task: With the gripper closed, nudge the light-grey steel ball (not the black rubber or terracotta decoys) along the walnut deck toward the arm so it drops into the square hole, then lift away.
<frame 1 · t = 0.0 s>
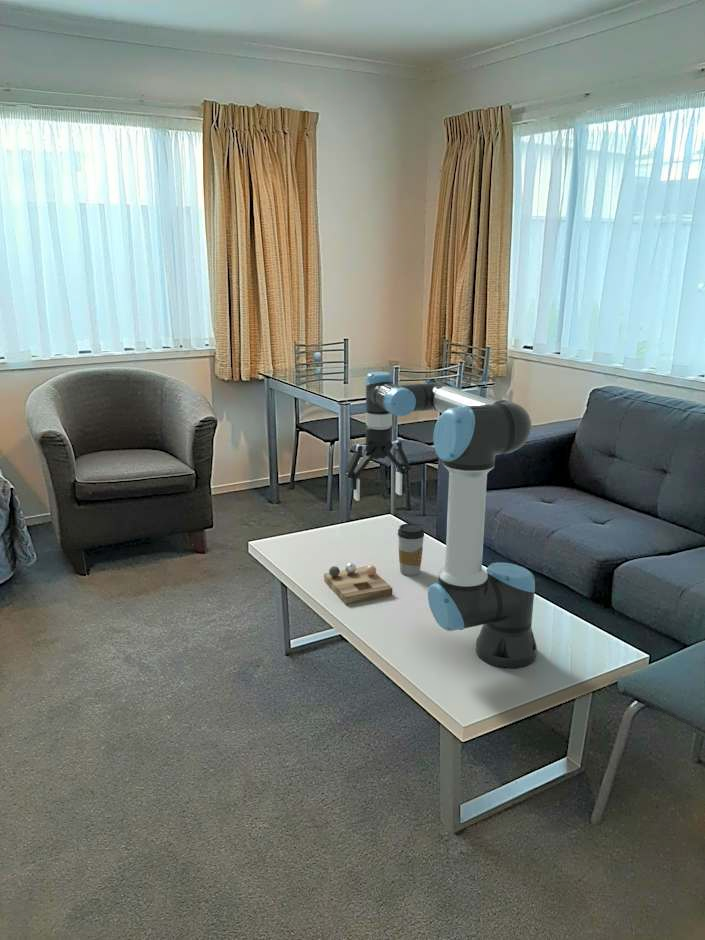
hand: (377, 496, 220), 28 cm above the table, fingers open, 13 cm apart
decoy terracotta: (371, 570, 227), point 4 cm above the table, touching deck
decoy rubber: (334, 571, 226), point 4 cm above the table, touching deck
deck: (357, 588, 224), on the table
steel ball: (350, 568, 228), point 4 cm above the table, touching deck
coffee cup: (409, 572, 236), on the table
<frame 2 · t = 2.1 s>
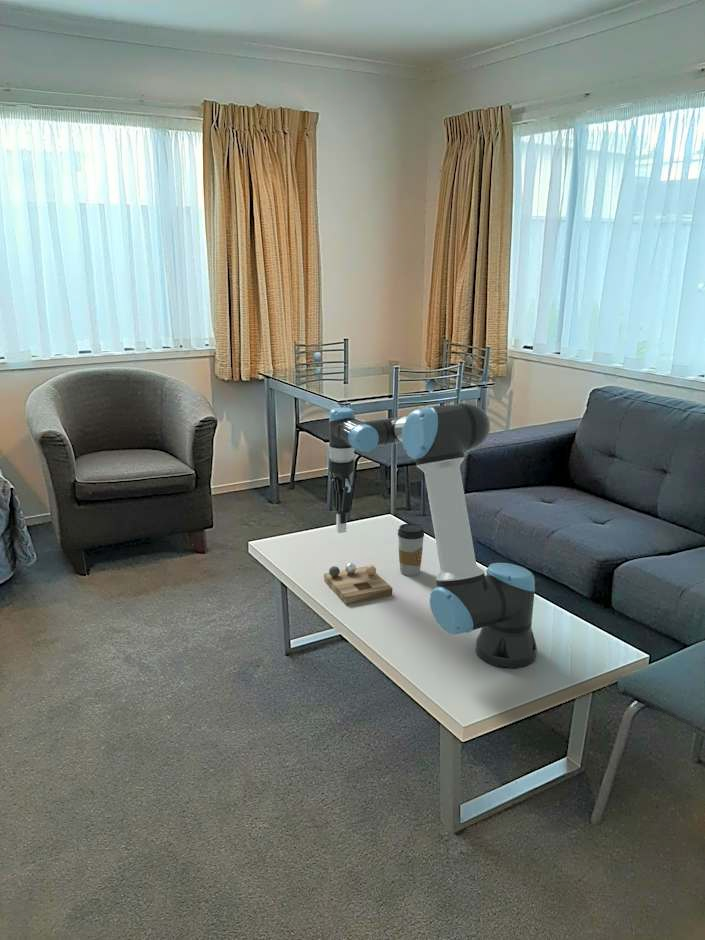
hand: (341, 531, 232), 14 cm above the table, fingers closed
nothing on the table moved.
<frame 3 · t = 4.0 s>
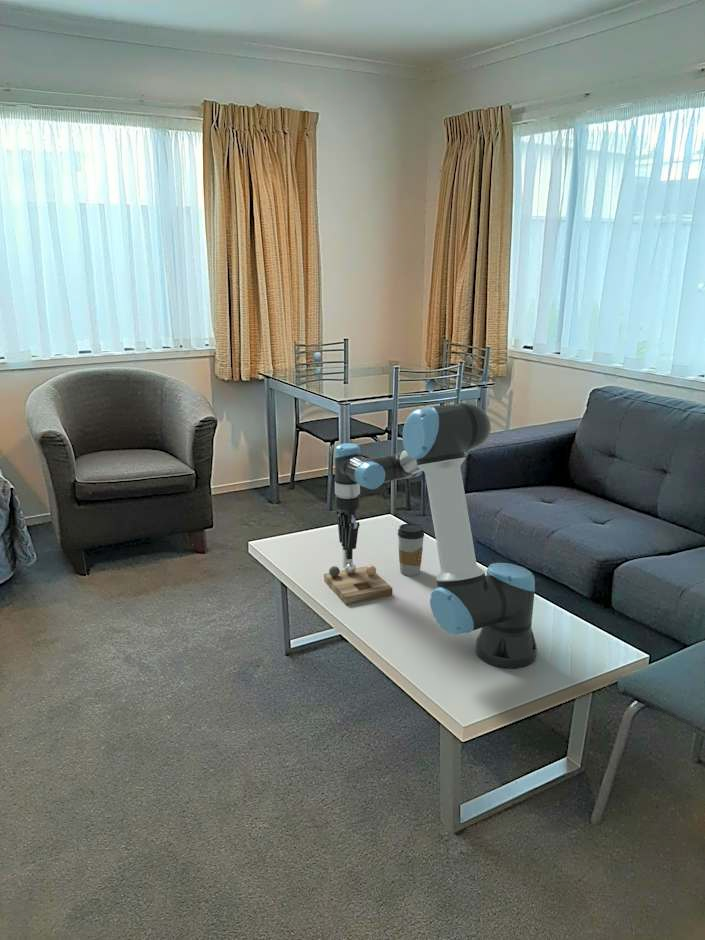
hand: (347, 567, 230), 4 cm above the table, fingers closed
steel ball: (350, 568, 228), point 4 cm above the table, touching deck, gripper
everything else where it was.
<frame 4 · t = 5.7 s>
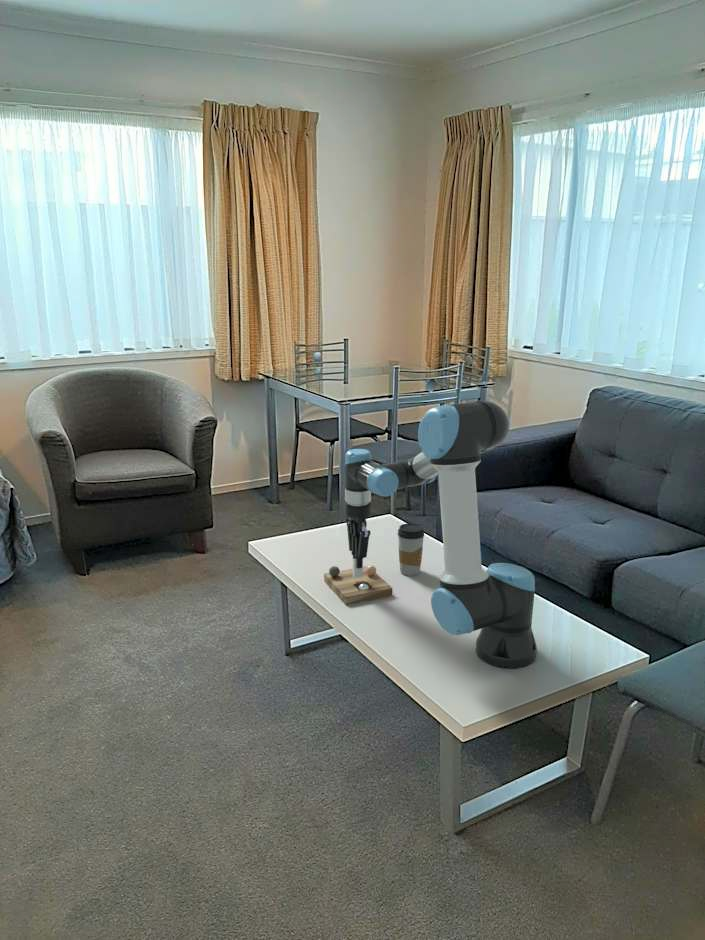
hand: (357, 576, 223), 4 cm above the table, fingers closed
steel ball: (363, 589, 220), point 2 cm above the table, tilted 22°
everything else where it was.
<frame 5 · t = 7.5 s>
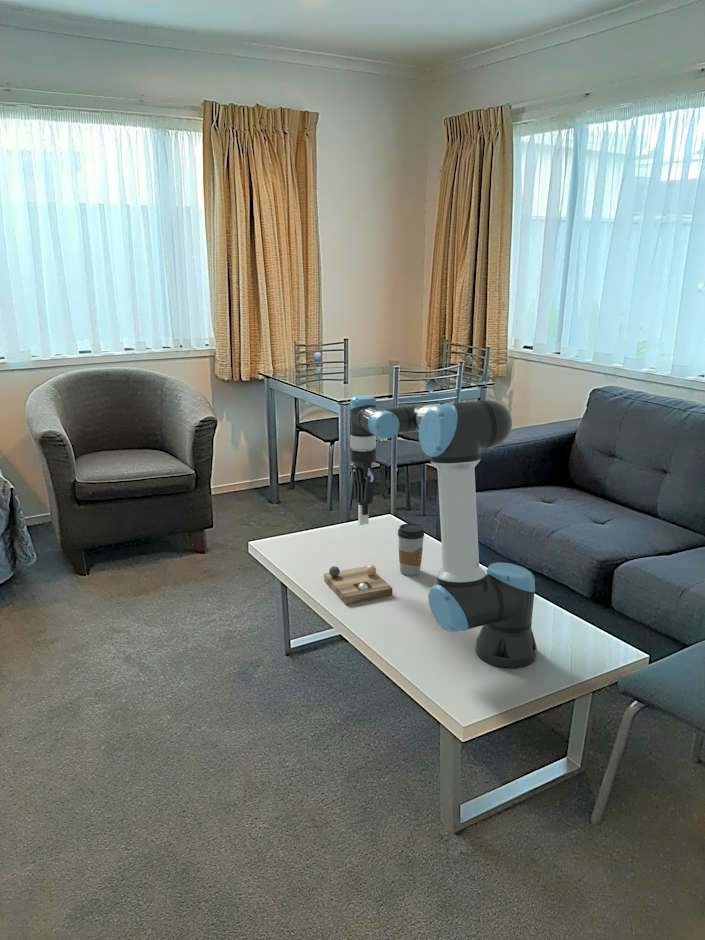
hand: (363, 523, 226), 18 cm above the table, fingers closed
steel ball: (363, 588, 220), point 2 cm above the table, tilted 36°
everything else where it was.
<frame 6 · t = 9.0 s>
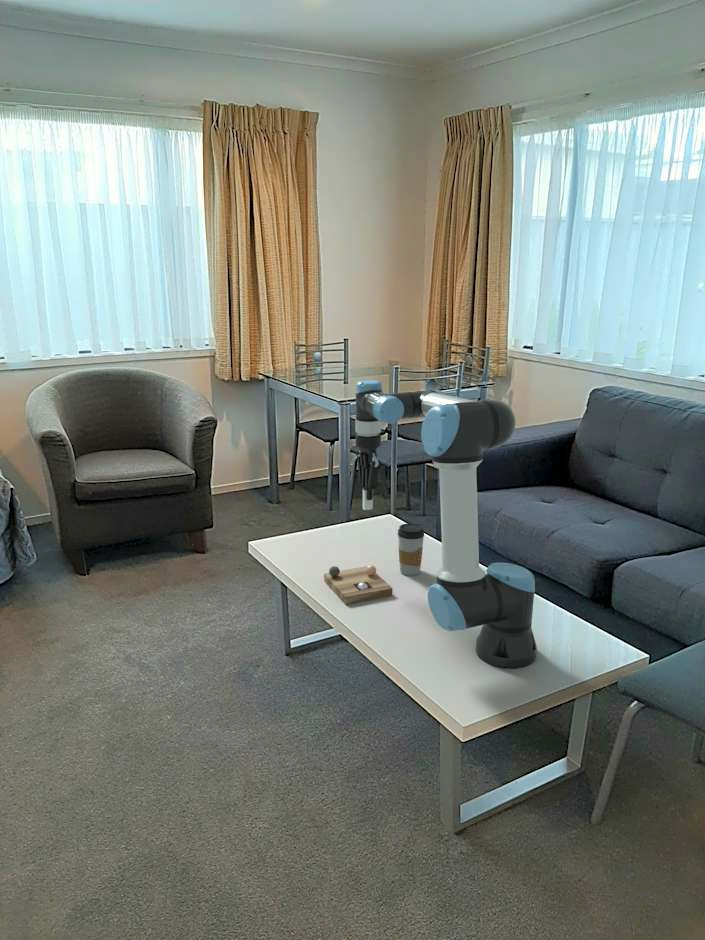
hand: (367, 508, 226), 22 cm above the table, fingers closed
steel ball: (362, 588, 221), point 2 cm above the table, tilted 48°
everything else where it was.
at the end: steel ball 0.3 cm from the target spot on the deck, point 1.7 cm above the deck's base; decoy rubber moved 0.0 cm from its start; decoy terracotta moved 0.0 cm from its start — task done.
